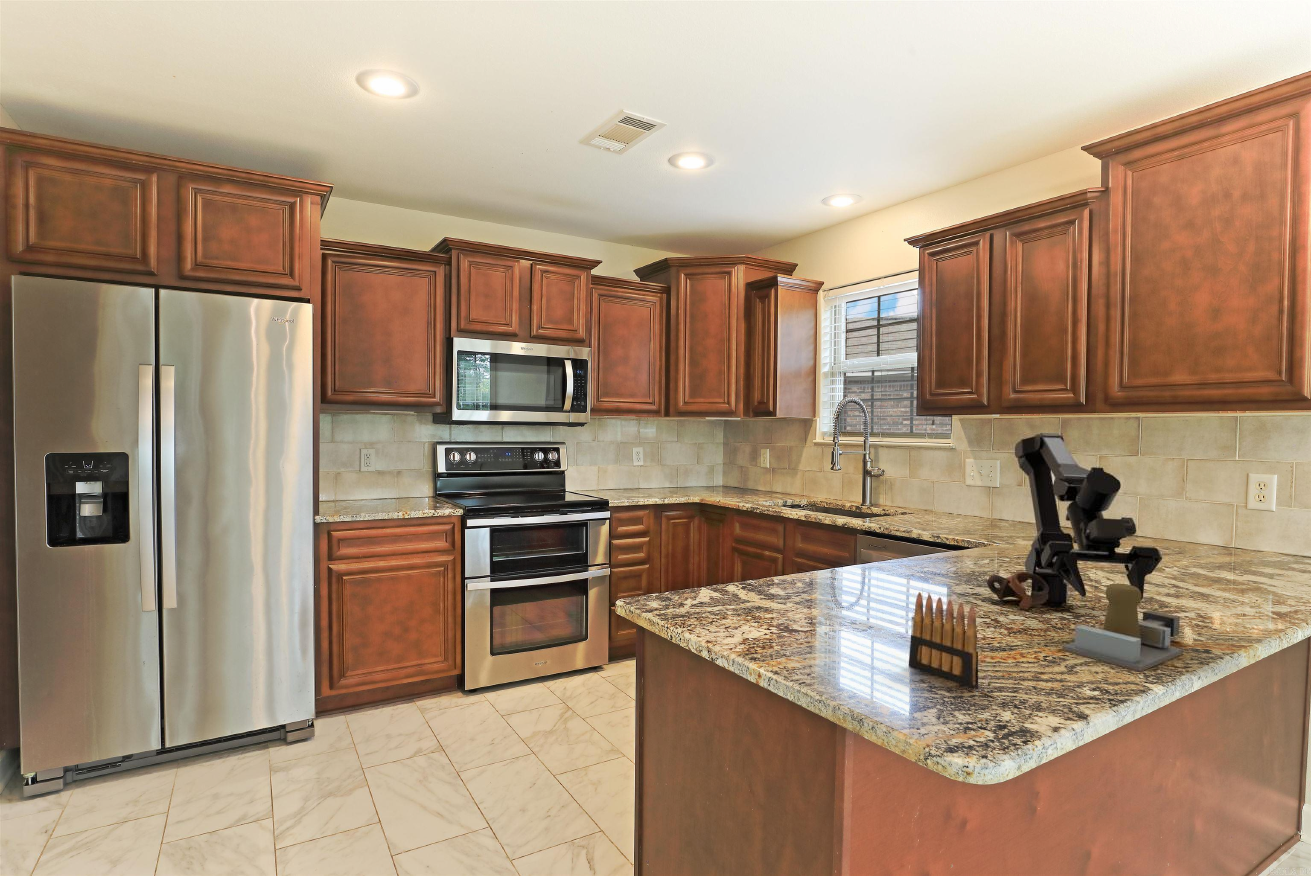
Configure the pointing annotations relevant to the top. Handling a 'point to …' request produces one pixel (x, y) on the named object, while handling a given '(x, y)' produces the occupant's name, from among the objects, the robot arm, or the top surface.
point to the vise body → (1118, 649)
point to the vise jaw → (1158, 628)
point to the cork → (1122, 610)
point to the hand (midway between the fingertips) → (1112, 597)
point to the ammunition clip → (945, 642)
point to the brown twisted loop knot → (1019, 588)
